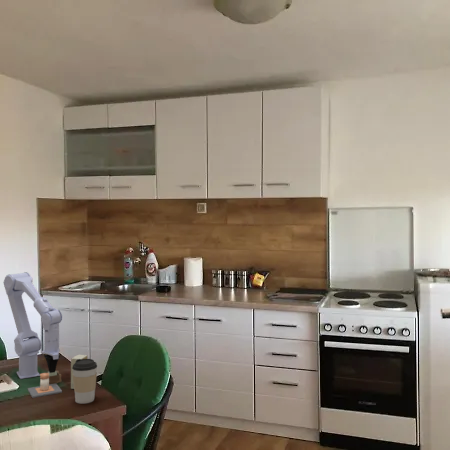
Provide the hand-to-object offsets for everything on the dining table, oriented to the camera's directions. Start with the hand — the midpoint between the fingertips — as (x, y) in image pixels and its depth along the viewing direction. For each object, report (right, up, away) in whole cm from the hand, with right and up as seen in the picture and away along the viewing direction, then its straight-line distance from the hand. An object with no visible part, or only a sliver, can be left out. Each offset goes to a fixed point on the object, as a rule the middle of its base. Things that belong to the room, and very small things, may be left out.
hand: (52, 372), depth 208 cm
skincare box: (+13, -4, -6) cm, 15 cm away
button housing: (0, -4, 0) cm, 4 cm away
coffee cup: (+19, -5, -20) cm, 28 cm away
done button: (0, -3, 0) cm, 3 cm away
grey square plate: (+1, -4, -11) cm, 12 cm away
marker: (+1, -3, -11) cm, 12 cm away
